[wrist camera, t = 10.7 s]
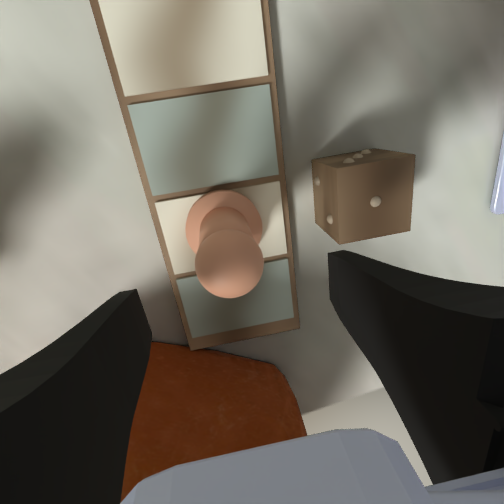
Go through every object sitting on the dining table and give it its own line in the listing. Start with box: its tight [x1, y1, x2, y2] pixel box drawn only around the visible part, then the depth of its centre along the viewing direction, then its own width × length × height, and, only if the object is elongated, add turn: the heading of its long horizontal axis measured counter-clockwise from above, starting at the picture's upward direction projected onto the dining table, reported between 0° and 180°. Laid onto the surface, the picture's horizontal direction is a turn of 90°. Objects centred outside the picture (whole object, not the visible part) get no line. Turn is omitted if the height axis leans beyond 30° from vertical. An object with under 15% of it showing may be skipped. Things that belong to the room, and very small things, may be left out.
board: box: [90, 0, 300, 351], centre depth 18 cm, size 8×22×1 cm, turn 8°
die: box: [311, 148, 415, 245], centre depth 17 cm, size 4×4×4 cm
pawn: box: [185, 189, 264, 298], centre depth 15 cm, size 4×4×7 cm
